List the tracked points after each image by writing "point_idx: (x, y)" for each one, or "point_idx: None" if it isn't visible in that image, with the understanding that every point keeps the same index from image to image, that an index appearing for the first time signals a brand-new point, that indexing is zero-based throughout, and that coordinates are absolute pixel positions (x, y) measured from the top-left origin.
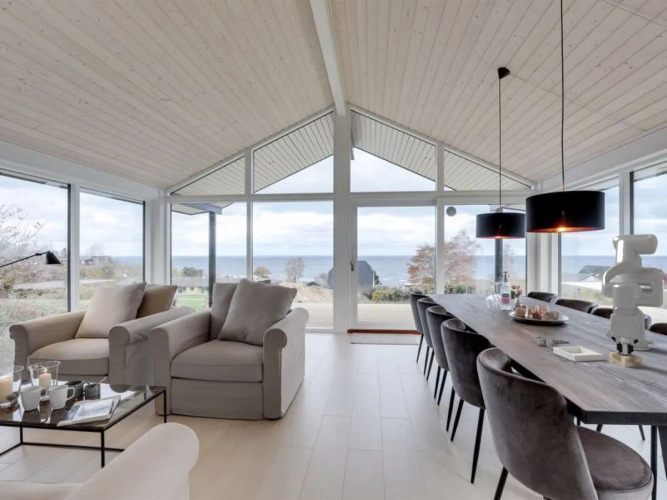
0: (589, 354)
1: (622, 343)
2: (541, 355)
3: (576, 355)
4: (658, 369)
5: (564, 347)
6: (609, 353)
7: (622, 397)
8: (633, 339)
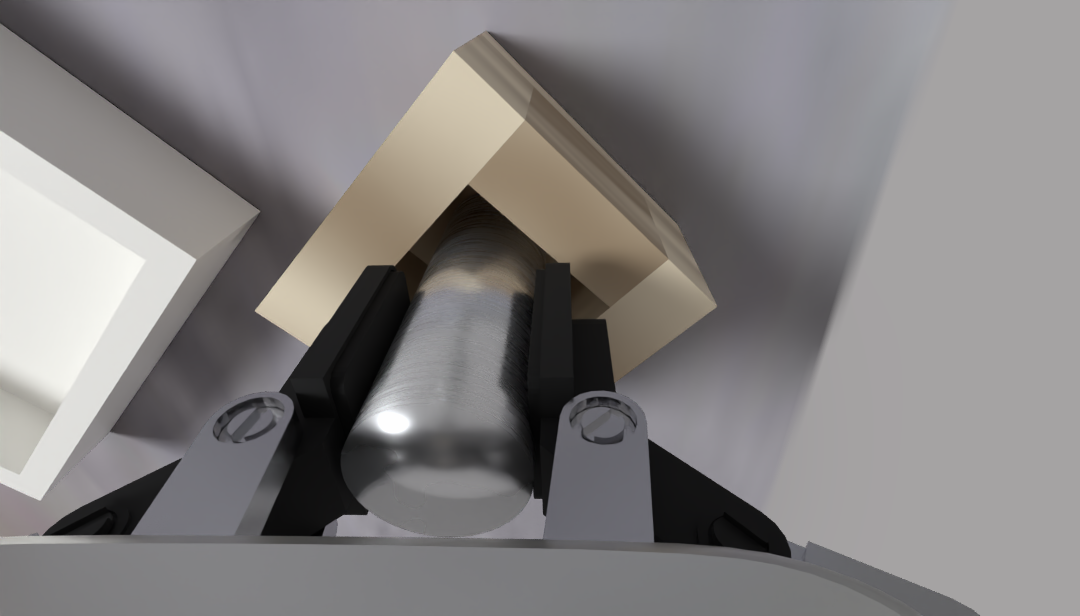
0: (90, 369)
1: (405, 519)
2: None
3: (46, 487)
4: (866, 140)
5: None
6: (273, 309)
7: None
8: (650, 537)
